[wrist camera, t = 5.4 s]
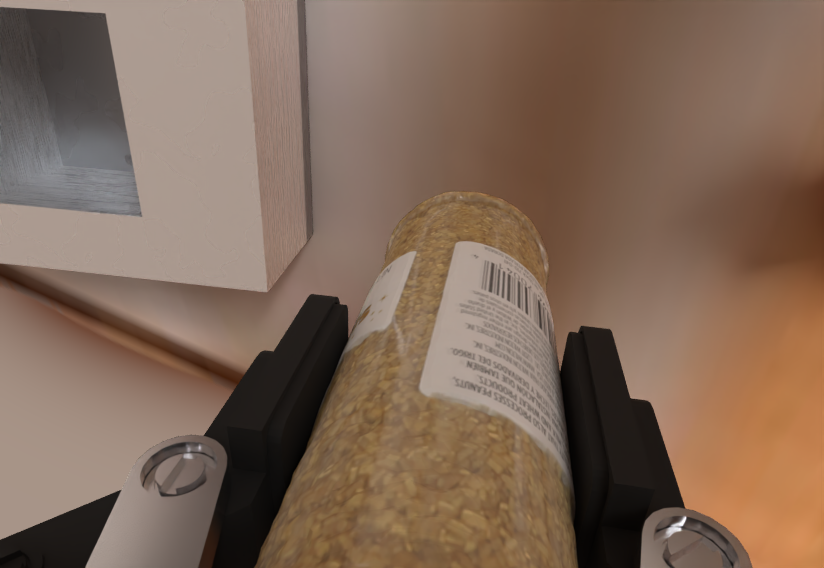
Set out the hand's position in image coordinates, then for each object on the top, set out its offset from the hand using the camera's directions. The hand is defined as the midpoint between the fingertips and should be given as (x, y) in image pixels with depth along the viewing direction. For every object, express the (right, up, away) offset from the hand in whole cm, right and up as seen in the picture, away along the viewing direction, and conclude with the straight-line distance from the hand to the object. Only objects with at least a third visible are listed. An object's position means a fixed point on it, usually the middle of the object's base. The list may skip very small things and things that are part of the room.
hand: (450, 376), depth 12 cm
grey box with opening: (-13, +10, +13) cm, 21 cm away
